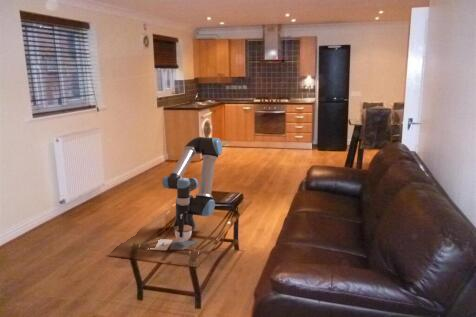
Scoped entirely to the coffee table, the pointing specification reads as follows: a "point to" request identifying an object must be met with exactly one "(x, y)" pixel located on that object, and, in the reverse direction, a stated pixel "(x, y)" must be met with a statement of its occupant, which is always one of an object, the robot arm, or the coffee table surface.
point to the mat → (181, 245)
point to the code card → (162, 244)
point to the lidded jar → (186, 230)
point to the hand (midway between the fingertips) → (183, 238)
